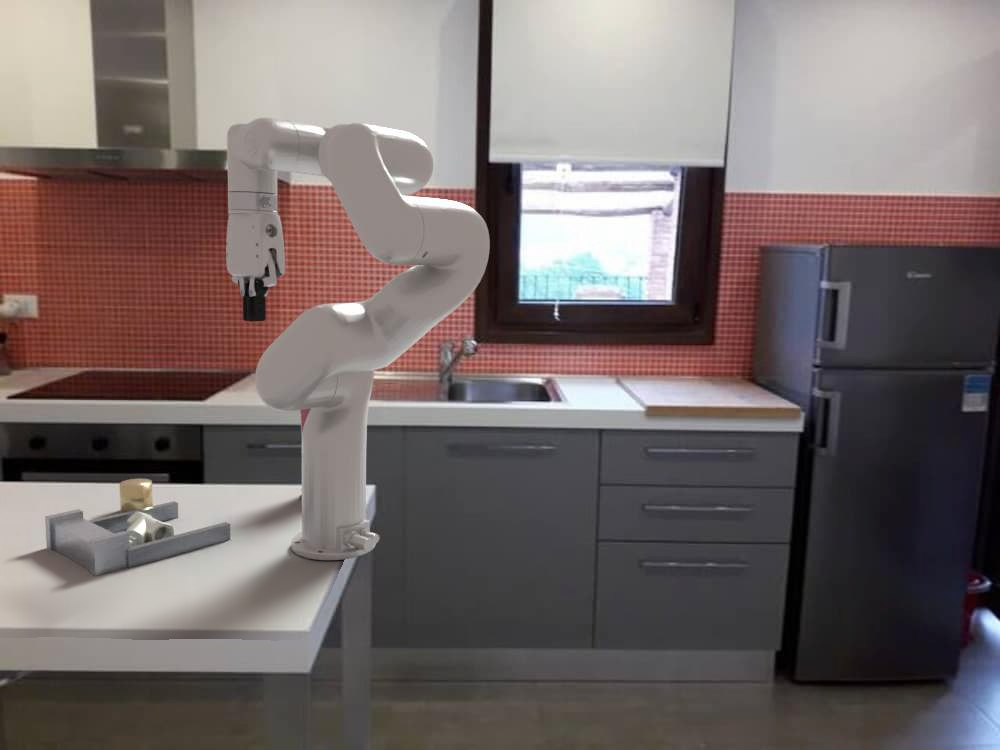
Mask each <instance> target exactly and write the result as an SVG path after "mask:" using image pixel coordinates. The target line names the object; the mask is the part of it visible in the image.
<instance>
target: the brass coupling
mask: <svg viewBox="0 0 1000 750" xmlns="http://www.w3.org/2000/svg"><path fill="white" fill-rule="evenodd" d="M119 502H120V504H119V505H120V513H125V512H129V511H134V510H138V509H142V508H147V507H151V506H154V503H153V481H152V479H148V478H130V479H126V480H122V481H121V482H119Z"/></svg>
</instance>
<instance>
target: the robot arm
mask: <svg viewBox="0 0 1000 750" xmlns="http://www.w3.org/2000/svg"><path fill="white" fill-rule="evenodd" d="M226 145H227V151H226V152H227V155H226V157H227V200H228V201H227V207H228V208H227V209H228V211H227V213H228V220H227V227H226V241H225V242H226V245H225V246H226V247H225V259H226V260H225V261H226V270H227V273H229V274H230V275H231V281H232V283H234V284H236V285H238V287H239V290H240V292H239V293H240V295H241V296H242V320H243V321H245V322H250V323H251V322H265V321H266V319H267V318H266V316H267V315H266V314H267V313H266V311H267V309H266V304H267V303H266V297H267V296H268V294H269V289H270V287H273V286H276V285H277V284H278V280H277V279H278V278H282V277H283V276H284V275H285V272H286V260H285V257H286V254H285V243H284V232H283V226H282V220H281V216H280V215H279V212H278V172H283V173H284V172H287V173H294V174H301V175H310V176H319V177H324V178H326V179H327V180H328V181H329V182H331V185H332V188H333V190H334V192H335V194H336V195H337V198H338V200H339V201H340V203H341V205H342V207H343V209H344V211H345V213H346V214H347V216H348V219H349V221H350V223H351V225H352V227H353V228H354V230H355V232H356V234H357V236H358V237H359V240H360V242H361V243H362V245H363V246H364V247H365V249H366V250H367V252H368V253H369V254H370V255H371V256H372V257H373V258H375V259H376V260H378V261H380V262H382V263H384V264H387V265H394V266H395V265H396V266H412V267H410V268H408V269H406V270H404V271H402V272H400V273H398V274H397V275H395V276H394V277H393V278H391V279H390V280H388V281H387V282H386V284H385V285H384V286H383V287H382V288H381V289H380V290H378V291H377V292H376V293H374V295H372V296H371V297H368V299H366V300H362V301H355V302H336V303H335V302H334V303H324V304H318V305H315V306H313V307H311V308H309V309H307V310H305V311H304V312H301V314H299V315H298V316H297V318H296V319H294V320H293V322H292V323H290V324H289V325H288V326H287V327H286V329H285V330H283V332H282V333H280V334H279V335H278V336H277V337H276V339H275V340H274V341H273V342H272V343H271V344H270V345H269V346H268V347H267V348H266V350H264V352H263V354H262V355H261V357H260V358H259V359H258V363H257V365H256V368H255V376H254V383H255V384H254V385H255V390H256V393H257V394H258V396H259V398H260V400H261V401H262V402H263V404H265V405H266V406H268V407H269V408H271V409H273V410H274V411H277V412H285V413H286V412H295V411H296V412H297V411H300V410H304V409H310V408H311V410H310V412H309V414H308V416H307V418H306V421H305V424H304V427H303V432H301V489H302V491H301V532H298V533H297V534H296V535H294V537H293V538H292V539H291V542H290V543H291V544H290V545H291V550H292V551H293V552H294V553H295V554H296V555H298V556H300V557H302V558H306V559H310V560H317V561H340V560H349V559H353V558H357V557H361V556H364V555H366V554H368V553H369V552H371V551H372V550H373V549H375V547H376V544H378V542H379V541H380V539H381V538H380V535H379V534H377V533H375V532H371V531H370V524H371V523H370V522H371V521H370V520H369V519H367V518H366V516H367V514H366V513H367V512H366V511H367V510H366V509H367V501H366V500H367V437H368V436H367V435H368V433H367V431H368V413H369V404H370V400H371V395H372V392H373V391H372V390H373V385H374V379H375V378H374V377H375V370H380V369H382V368H386V367H388V366H389V365H391V364H392V363H393V362H395V361H396V360H397V359H398V358H399V357H401V356H402V355H403V354H404V353H406V351H408V350H409V349H410V348H411V347H412V346H414V345H415V344H416V343H417V342H418V341H420V339H422V338H423V337H424V336H425V335H426V334H428V332H429V331H430V330H431V329H433V328H434V327H435V326H437V325H438V324H439V323H440V322H442V321H443V320H444V319H445V318H447V317H448V316H449V315H450V314H452V313H453V312H454V311H455V310H456V309H458V308H459V307H460V306H461V305H462V304H463V303H464V302H466V300H467V299H468V298H469V297H470V296H471V295H472V294H473V293H474V291H475V290H476V288H477V287H478V286H479V284H480V283H481V280H482V279H483V276H484V274H485V272H486V268H487V265H488V261H489V255H490V249H491V248H490V246H491V245H490V244H491V243H490V242H491V241H490V233H489V229H488V226H487V223H486V221H485V220H484V218H483V217H482V215H480V214H479V212H477V210H475V209H474V208H472V207H471V206H468V205H466V204H464V203H461V202H458V201H454V200H448V199H441V198H436V197H435V198H434V197H425V196H424V197H423V196H413V194H414V193H418V192H419V191H421V190H422V189H423V188H424V187H425V186H426V185H427V184H428V183H429V182H430V179H431V178H432V176H433V172H434V171H433V170H434V158H433V155H432V153H431V150H430V148H429V147H428V146H427V144H426V143H425V142H424V141H423V140H422V139H421V138H419V137H418V136H417V135H414V134H412V133H410V132H407V131H404V130H399V129H393V128H388V127H382V126H378V125H373V124H369V123H362V122H361V123H360V122H356V123H355V122H354V123H339V124H336V125H334V126H332V127H323V126H318V125H312V124H308V123H307V124H306V123H301V122H298V121H290V120H285V119H279V118H273V117H258V118H255V119H253V120H252V121H250V122H248V123H237V124H232V125H231V126H230V127H229V128H228V130H227V135H226Z"/></svg>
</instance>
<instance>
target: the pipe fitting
mask: <svg viewBox="0 0 1000 750" xmlns="http://www.w3.org/2000/svg"><path fill="white" fill-rule="evenodd" d="M125 532H127V533H129V547H132V546H136V545H140V544H144V543H147V542H151V541H155V540H159V539H163V538H167V537H170V536H174V535H175V530H174V525H173V524H170V523H167V522H165V521H159V520H156V519H154V518H152V516H151V515H149V514H145V513H141V512H135V513H134V514H133V515H132V516H131V517H130V518H129V519H128V520H127V530H125Z"/></svg>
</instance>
